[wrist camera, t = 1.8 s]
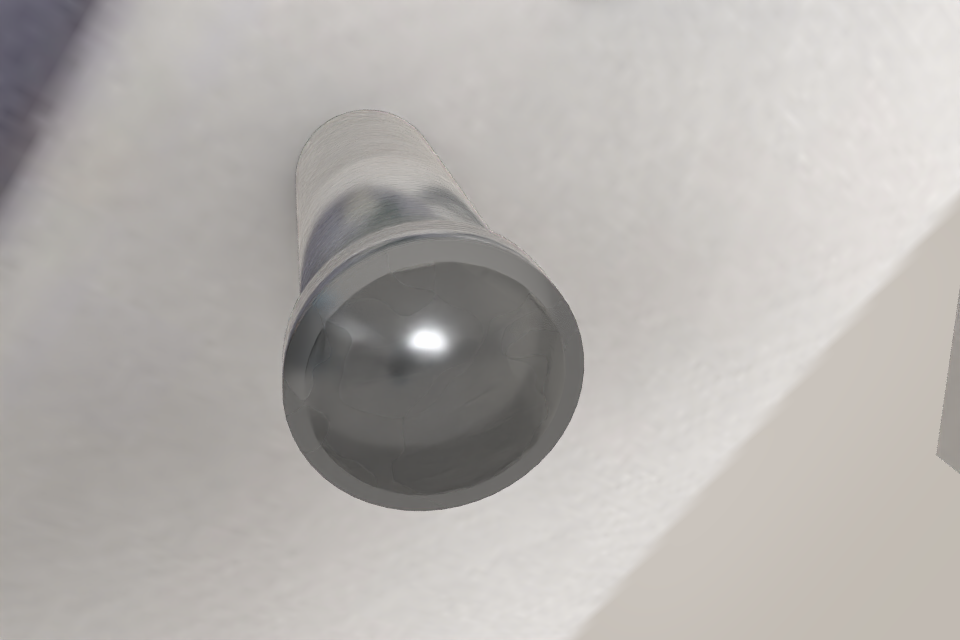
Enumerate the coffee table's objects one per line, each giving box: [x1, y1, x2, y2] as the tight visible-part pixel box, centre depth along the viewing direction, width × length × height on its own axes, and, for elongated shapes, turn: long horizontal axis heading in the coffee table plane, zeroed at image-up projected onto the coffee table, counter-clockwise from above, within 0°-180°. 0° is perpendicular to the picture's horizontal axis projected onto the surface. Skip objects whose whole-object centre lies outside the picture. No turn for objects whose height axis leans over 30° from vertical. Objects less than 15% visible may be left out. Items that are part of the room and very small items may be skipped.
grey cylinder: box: [283, 110, 584, 511], centre depth 18 cm, size 5×5×12 cm
